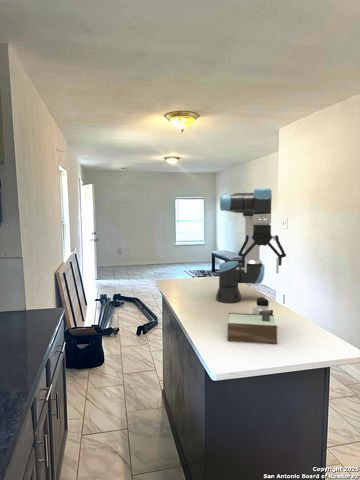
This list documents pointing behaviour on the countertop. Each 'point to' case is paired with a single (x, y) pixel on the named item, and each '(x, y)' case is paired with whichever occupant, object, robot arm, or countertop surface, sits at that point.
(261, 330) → the box
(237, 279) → the robot arm
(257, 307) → the medicine bottle
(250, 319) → the lid
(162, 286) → the countertop surface
